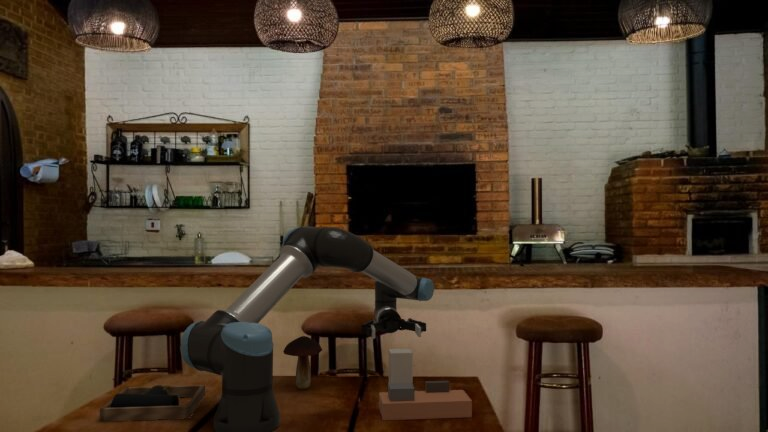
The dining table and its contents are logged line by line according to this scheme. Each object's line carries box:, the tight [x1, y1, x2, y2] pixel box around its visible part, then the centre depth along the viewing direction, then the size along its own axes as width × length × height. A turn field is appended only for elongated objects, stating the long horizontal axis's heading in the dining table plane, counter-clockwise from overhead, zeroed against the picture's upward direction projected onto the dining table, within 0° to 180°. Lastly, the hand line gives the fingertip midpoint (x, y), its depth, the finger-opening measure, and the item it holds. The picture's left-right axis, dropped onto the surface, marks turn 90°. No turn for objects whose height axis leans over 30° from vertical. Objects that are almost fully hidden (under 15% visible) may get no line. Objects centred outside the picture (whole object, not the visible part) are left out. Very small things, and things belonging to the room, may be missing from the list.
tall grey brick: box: [388, 348, 414, 386], centre depth 160 cm, size 6×5×12 cm
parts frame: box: [99, 384, 206, 423], centre depth 148 cm, size 21×18×3 cm
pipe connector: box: [111, 384, 180, 408], centre depth 147 cm, size 12×5×15 cm
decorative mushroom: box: [282, 335, 323, 390], centre depth 165 cm, size 11×11×15 cm
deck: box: [378, 380, 473, 421], centre depth 148 cm, size 22×16×7 cm
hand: (397, 333), depth 170 cm, fingers open, 13 cm apart
